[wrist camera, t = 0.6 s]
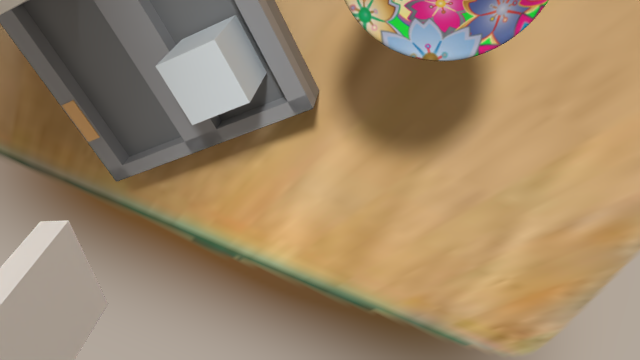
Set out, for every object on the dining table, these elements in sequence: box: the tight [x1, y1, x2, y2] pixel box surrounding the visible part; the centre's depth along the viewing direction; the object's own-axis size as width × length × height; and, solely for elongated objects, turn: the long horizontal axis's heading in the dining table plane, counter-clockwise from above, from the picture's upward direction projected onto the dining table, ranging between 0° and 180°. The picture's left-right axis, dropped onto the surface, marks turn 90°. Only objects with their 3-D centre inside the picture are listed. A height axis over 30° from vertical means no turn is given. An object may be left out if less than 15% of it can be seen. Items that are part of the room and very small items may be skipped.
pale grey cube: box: [156, 15, 267, 125], centre depth 35 cm, size 4×4×4 cm
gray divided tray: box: [0, 0, 319, 182], centre depth 36 cm, size 20×16×3 cm
